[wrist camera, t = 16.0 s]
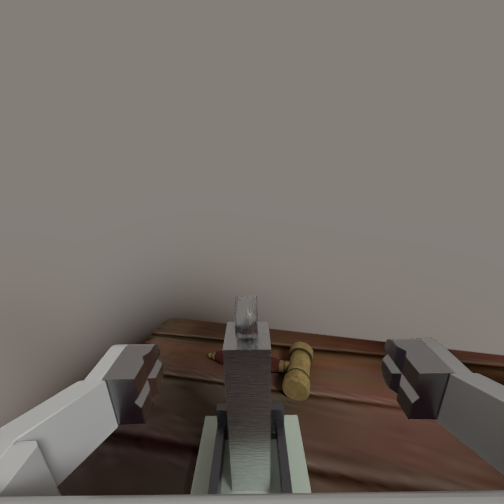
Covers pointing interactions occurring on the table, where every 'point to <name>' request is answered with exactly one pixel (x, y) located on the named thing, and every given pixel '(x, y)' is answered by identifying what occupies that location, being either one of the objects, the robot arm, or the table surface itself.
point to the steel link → (248, 396)
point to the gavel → (289, 370)
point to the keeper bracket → (281, 456)
